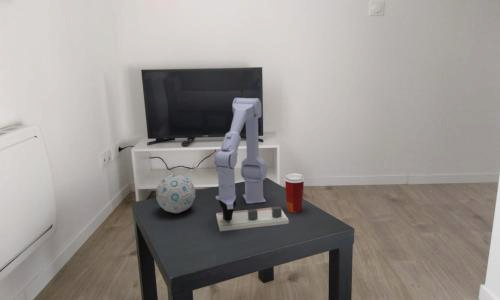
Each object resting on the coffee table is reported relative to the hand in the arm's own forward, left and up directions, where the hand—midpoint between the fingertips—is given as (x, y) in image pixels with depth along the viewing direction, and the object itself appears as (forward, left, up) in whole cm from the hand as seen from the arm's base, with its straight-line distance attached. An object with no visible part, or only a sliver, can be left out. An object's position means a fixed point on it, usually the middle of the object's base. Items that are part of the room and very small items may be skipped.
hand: (228, 219), depth 135 cm
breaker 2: (0, +9, 0) cm, 9 cm away
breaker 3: (0, +18, 0) cm, 18 cm away
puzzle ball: (-18, -18, -3) cm, 25 cm away
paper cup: (-8, +27, -3) cm, 28 cm away
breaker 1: (-3, 0, 0) cm, 3 cm away
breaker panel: (-3, +9, -2) cm, 10 cm away
